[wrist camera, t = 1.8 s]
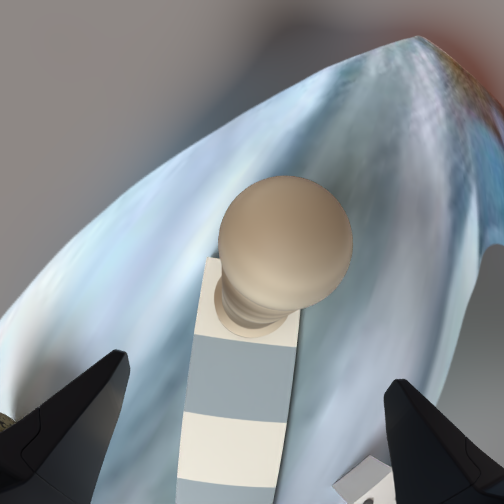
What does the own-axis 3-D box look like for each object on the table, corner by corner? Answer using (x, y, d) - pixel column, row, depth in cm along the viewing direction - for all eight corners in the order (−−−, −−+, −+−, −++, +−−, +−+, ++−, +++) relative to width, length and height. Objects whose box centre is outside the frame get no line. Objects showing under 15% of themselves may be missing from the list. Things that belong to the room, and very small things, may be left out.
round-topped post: (297, 322, 20) (416, 271, 7) (229, 348, 19) (243, 349, 6) (271, 257, 21) (337, 126, 8) (204, 280, 20) (178, 160, 7)
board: (263, 531, 15) (265, 537, 14) (175, 522, 14) (173, 528, 13) (299, 274, 22) (303, 271, 21) (207, 260, 22) (206, 256, 21)
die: (389, 478, 17) (414, 493, 13) (353, 507, 16) (374, 528, 12) (369, 454, 18) (395, 469, 14) (331, 485, 17) (350, 506, 13)
